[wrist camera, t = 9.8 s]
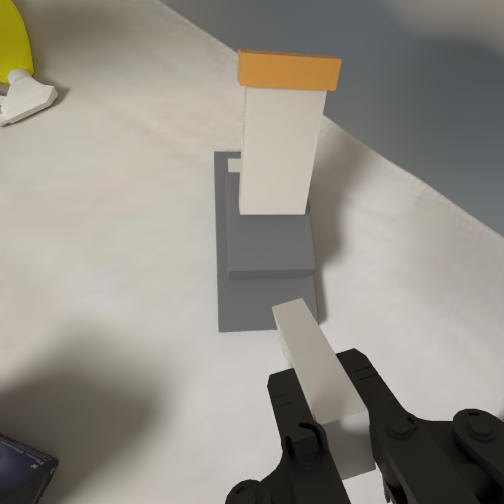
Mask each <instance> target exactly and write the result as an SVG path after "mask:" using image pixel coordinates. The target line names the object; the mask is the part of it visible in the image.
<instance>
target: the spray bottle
mask: <svg viewBox="0 0 504 504" xmlns="http://www.w3.org/2000/svg"><path fill="white" fill-rule="evenodd" d="M33 74H34V68H33V61H32V54H31V47H30V42H29V39H28V35H27V32H26V28H25V25H24V21H23V19H22V17H21V15H20V13H19V11H18V9H17V8H16V6H15V5H14V3H13V2H12V0H0V82H2V83H5V84H9V85H10V87H9V90H8V93H7V96H1V95H0V104H1V105H2V106H1V108H0V109H1V111H2V112H3V113H1V114H0V126H2V125H5V124H7V123H9V122H10V123H11V124H12V123H14V122H16V121H18V120H21V119H23V118H25V117H27V116H29V115H31V114H33V113H35V112H37V111H40V110H42V109H44V108H46V107H48V106H50V105H51V104H52V102H53V101H54V100H55V99H56V97H57V96H58V93H57V92H56V90H55V88H54V86H49V85H44V84H41V83H39V82H37V81H36V80H34V79H33V78H32V77H31V76H32V75H33Z"/></svg>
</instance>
